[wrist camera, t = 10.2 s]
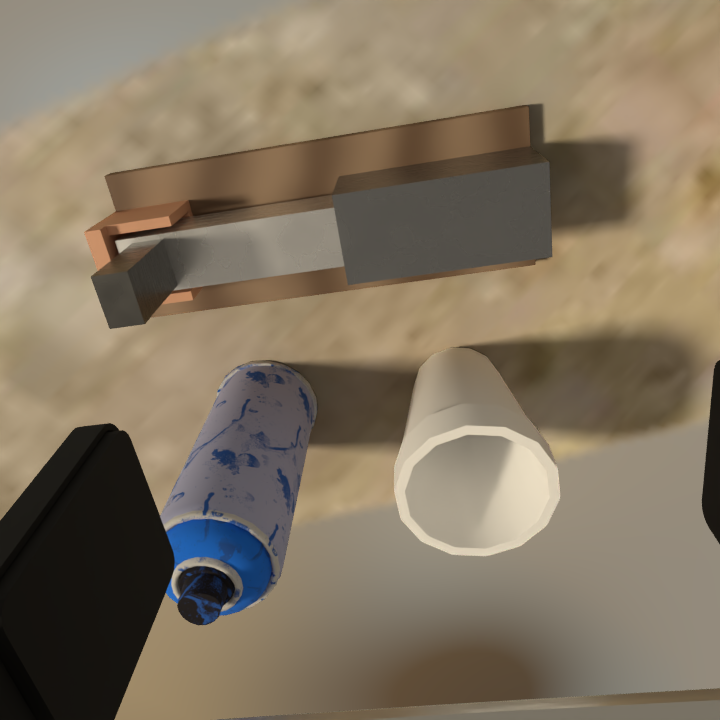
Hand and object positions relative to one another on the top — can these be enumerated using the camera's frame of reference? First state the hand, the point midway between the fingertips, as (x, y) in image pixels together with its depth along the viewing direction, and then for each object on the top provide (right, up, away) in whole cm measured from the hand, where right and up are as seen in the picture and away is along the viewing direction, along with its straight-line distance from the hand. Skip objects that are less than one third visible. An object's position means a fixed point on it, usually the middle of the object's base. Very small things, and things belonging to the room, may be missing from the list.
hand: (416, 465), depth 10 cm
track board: (-3, +11, +33) cm, 35 cm away
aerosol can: (-8, -2, +40) cm, 41 cm away
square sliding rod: (-7, +10, +32) cm, 34 cm away
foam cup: (+6, 0, +38) cm, 39 cm away
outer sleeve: (+4, +12, +31) cm, 34 cm away
